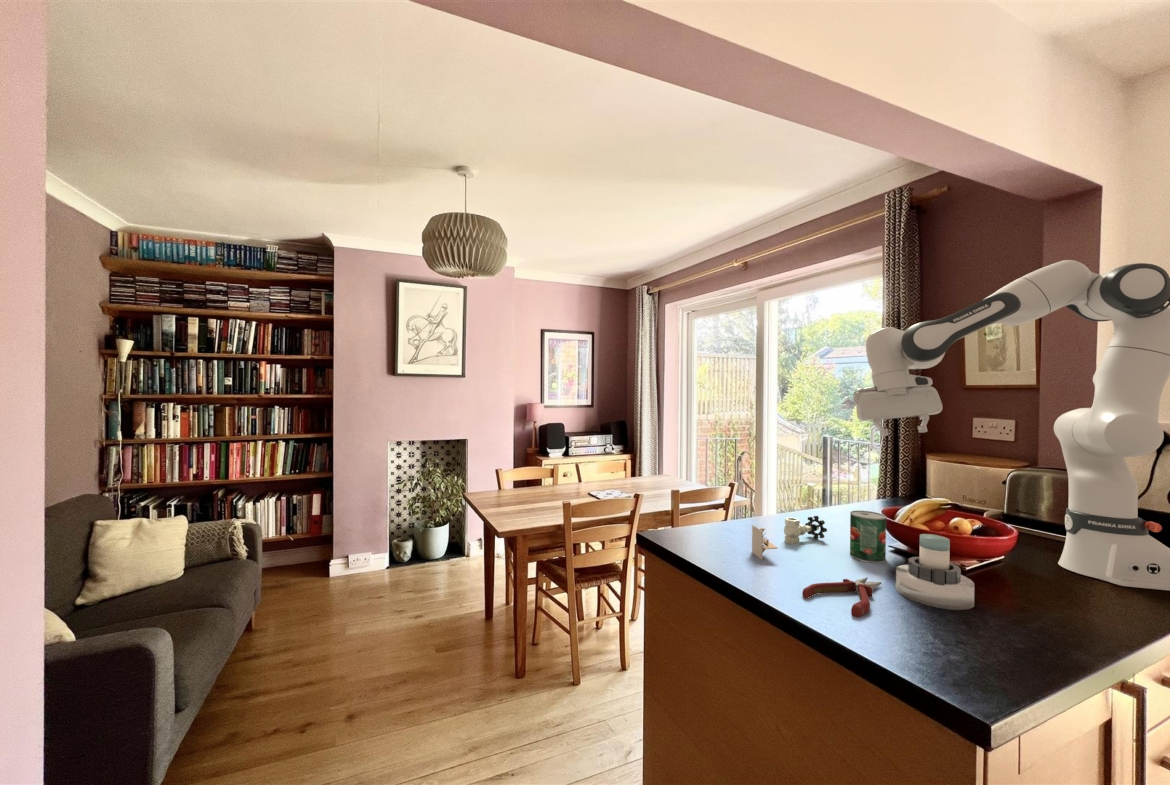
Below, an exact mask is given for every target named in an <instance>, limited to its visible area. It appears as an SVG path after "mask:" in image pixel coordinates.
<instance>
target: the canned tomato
mask: <svg viewBox="0 0 1170 785" xmlns="http://www.w3.org/2000/svg"><path fill="white" fill-rule="evenodd" d="M849 514H850V518H849V520H850V521H849V523H850V525H849V527H850V528H849V529H850V530H849V532H850V533H849V556H850V557H852V558H853V559H855V560H857V561H861V562H866V563H873V564H882V562H883V563H885V562H886V561H887V560H886V554H887V552H886V551H887V549H886V548H887V542H886V541H887V540H886V538H887V527H886V526H887V516H886V515H885V514H882V513H880V512H875V511H869V510H851V511H850V512H849Z"/></svg>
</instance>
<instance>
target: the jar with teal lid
mask: <svg viewBox="0 0 1170 785" xmlns="http://www.w3.org/2000/svg"><path fill="white" fill-rule="evenodd" d="M950 548H951V541H950V538H948V537H945V536H942V535H938V534H933V533H921V534H919V556H918V557H919V565H922V566H925V567H928V568H932V569H934V568H939V569H944V570H949V562H950V560H951V559H950V555H951V553H950V551H951V550H950ZM950 563H951V562H950Z"/></svg>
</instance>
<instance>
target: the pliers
mask: <svg viewBox="0 0 1170 785" xmlns="http://www.w3.org/2000/svg"><path fill="white" fill-rule="evenodd" d="M868 578H869V577H863V578H859V579H856V580H855V581H853V580H850V579H849V578H843V579H842V581H840V582H838V581H837V582H835V581H834V582H817V583H813V584H809V585H808V586H806V587H804V588H803V590H802V597H803V599H806V598H807V599H809V598H811V597H813V596H815V595H814V594H816V595H818V594H817V593H821V594H840V593H842V594H843V593H844V594H845V593H857V594H858V598H859V600H860V601H858V602H856V603H853V605H852V606H851V609H850V610H851V611H850V613H851V614H850V616H851V617H854V618H861V617H862V616H864V615H866V614H868V613H869V612H870V609H871V601H870V599H869V598H873V590H875V589H876V588H877V587H879V586H880V585H882V581H868ZM812 595H813V596H812ZM810 596H811V597H810ZM808 597H809V598H808Z"/></svg>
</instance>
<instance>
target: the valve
mask: <svg viewBox="0 0 1170 785" xmlns="http://www.w3.org/2000/svg"><path fill="white" fill-rule="evenodd" d="M819 518H820V517H819V516H818V515H814V516H813V517H812V516H808V517H807V522H806V523H804V525H803V524H802V523H800V522H801V521H800V519H798V518H795V517H785V519H784V524H785V526H784V527H783V528H784V529H783V533H784V542H785V543H786V544H788V545H800V536H804V535H805V534H806V533H807V534H808V535H812V538H813V539H814V538H815V539H814V540H818V539H824V538H825V534H824V533H827V532H828V529H827V528H826V527H824V525H825V523H826V521H824V520H819ZM814 522H815V523H814ZM816 523H817V524H816ZM817 531H819V532H817Z"/></svg>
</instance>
